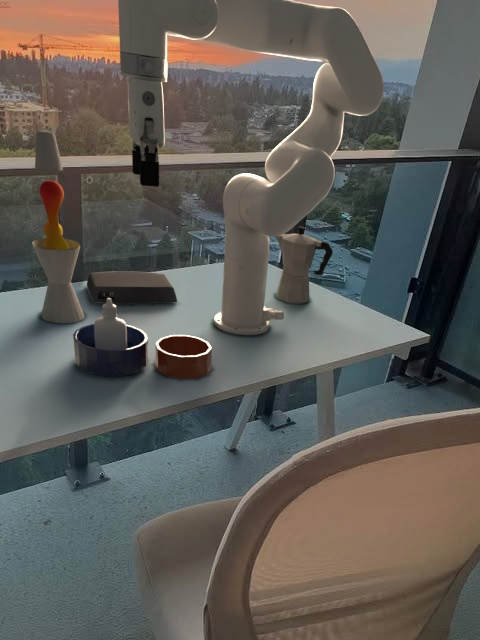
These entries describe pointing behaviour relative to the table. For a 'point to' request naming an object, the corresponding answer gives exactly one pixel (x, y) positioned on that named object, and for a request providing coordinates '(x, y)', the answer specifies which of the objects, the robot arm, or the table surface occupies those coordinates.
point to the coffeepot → (299, 265)
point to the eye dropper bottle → (110, 329)
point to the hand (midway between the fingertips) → (145, 179)
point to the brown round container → (183, 356)
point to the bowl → (111, 353)
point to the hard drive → (130, 287)
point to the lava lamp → (55, 240)
